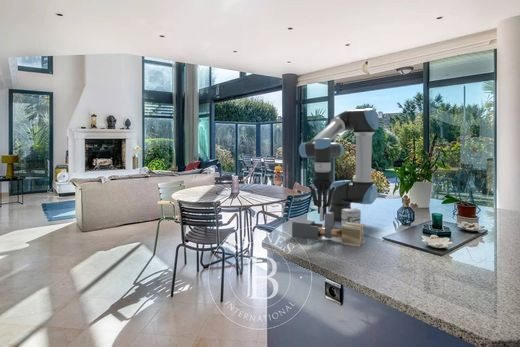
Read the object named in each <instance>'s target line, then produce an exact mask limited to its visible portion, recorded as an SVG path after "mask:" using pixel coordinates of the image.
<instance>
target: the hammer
mask: <svg viewBox="0 0 520 347" xmlns="http://www.w3.org/2000/svg"><path fill="white" fill-rule="evenodd" d="M334 224H335V220H334V212H329V211H327V212H326V213H325V220H324V227H323V226H322V227H318V236H322V237H324V238H326V239H332V238H335V239H341V240H342V230H341V229H339V228H337V229H336V228H335V227H334V226H335V225H334Z"/></svg>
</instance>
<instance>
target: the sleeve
mask: <svg viewBox="0 0 520 347" xmlns="http://www.w3.org/2000/svg"><path fill="white" fill-rule="evenodd" d="M318 227H322V228H323V223H318V222H316V221H315V220H311V219H310V220H309V219H301V218H300V219H299V218H297V219H295V220H293V221H292V222H291V237H292V238H295V239H296V238H297V239H304V240H310V241H311V240H312V241H317V240H318V241H319V240H320V239H322V238H323V236H318ZM321 237H322V238H321Z"/></svg>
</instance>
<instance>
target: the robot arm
mask: <svg viewBox="0 0 520 347" xmlns="http://www.w3.org/2000/svg"><path fill="white" fill-rule="evenodd" d="M379 117H380V116H379V115H378V112H377V110H376V109H374V108H359V109H348V110H345V111H342V112H340V113H339V114H337V115H335V116H334V117H333V118H332V119H330V121H329V124H328V125H327V126H326V127H324V128H323V129H322V130H321V131H320V132H319V133H317V135H315V136H314V137H313V138H312V139H311V140H310V141H309V142H302V143H300V144H299V147H298V152H299V153H298V154H299V155H300V157H302V158H314V176H313V177H314V179H313V180H314V181H313V182H312V183H313V184H310V185H308V189H309V190H310V192H311V197H312V201H313V206H315V207H317V213H318V214H319V222H325V213H326V212H334V222H335V221H337V222H341V219H342V209H352V206H351V205H352V204H360V205H372V204H373V203H374V202H375V201H376V198H377V196H378V186H377V185H376V184H375V183H374V182H375V181H374V180H373V178H372V156H373V155H372V152H373V151H372V150H373V146H372V145H373V138H372V137H373V135H374V134H375V132H376V130H378V129H379V126H380V119H379ZM346 131H353V135H354V136H355V172H354V173H355V176H354V177H355V178H353V180H350V179H345V180H335V181H331V179H332V176H331V174H332V173H331V170H332V168H331V167H332V164H331V163H332V159H338V158H340V157H342V156H343V154H344V153H345V152H344V151H345V148H344V145H343V144H341V143H340V142H335V141H334V142H332V141H333V140H334V139H335V138H336V137H337V136H338V135H339V134H342V133H344V132H346ZM329 189H330V190H329ZM316 190H317V191H316ZM328 191H329V195H328ZM328 207H329V210H328V211H327V208H328Z"/></svg>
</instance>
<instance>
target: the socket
mask: <svg viewBox="0 0 520 347" xmlns="http://www.w3.org/2000/svg"><path fill="white" fill-rule="evenodd" d="M364 225H365V224H364V223H360V224H359V223H350V222H346V223H345V224H343V225H342V239H341V245H343V244H344V245H345V246H351V247H352V246H353V247H359V248H360V247H361V246H362V245H363V243H364V236H365V235H364V231H365V230H364V227H365V226H364Z"/></svg>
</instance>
